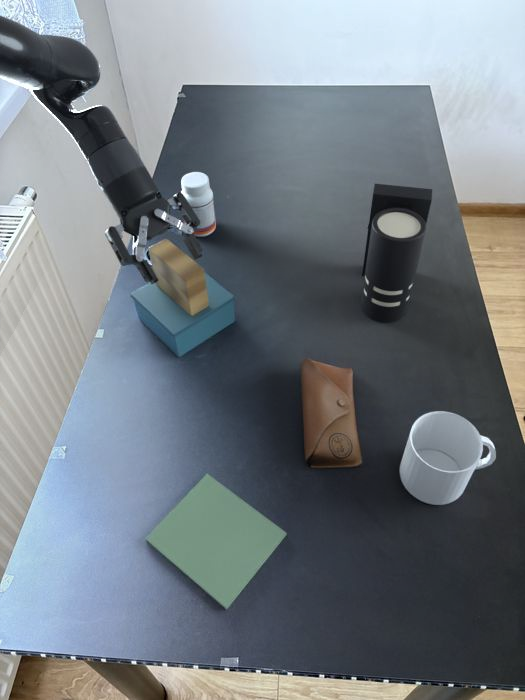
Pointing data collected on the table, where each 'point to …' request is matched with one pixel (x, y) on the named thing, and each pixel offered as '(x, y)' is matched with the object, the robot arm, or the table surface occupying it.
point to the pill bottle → (200, 201)
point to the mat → (216, 540)
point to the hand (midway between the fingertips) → (177, 270)
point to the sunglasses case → (329, 416)
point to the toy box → (184, 316)
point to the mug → (442, 457)
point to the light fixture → (393, 249)
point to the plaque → (179, 276)
